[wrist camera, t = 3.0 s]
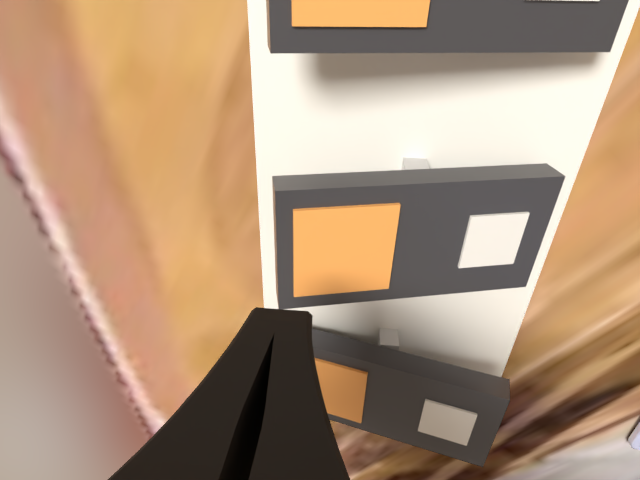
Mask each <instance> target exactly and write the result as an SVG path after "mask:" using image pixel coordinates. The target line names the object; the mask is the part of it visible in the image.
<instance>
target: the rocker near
mask: <svg viewBox="0 0 640 480" xmlns="http://www.w3.org/2000/svg"><path fill="white" fill-rule="evenodd" d="M628 1H629V0H266V13H267V42H268V48H269V51H270V53H271V54H278V53H543V52H610V51H611V48H612V46H613V43H614V40H615V37H616V35H617V32H618V29H619V26H620V23H621V21H622V18H623V15H624V12H625V10H626V7H627V4H628Z"/></svg>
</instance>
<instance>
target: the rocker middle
mask: <svg viewBox="0 0 640 480" xmlns="http://www.w3.org/2000/svg"><path fill="white" fill-rule="evenodd" d="M565 177H566V176H565V175H563V174H562V173H560V172H559V171H557V170H556V169H554V168H553V167H551V166H550V165H548V164H547V163H543V164H521V165H499V166H478V167H456V168H434V169H412V170H391V171H369V172H347V173H325V174H304V175H282V176H272V187H273V216H274V245H275V274H276V294H277V301H278V309H292V308H303V307H314V306H324V305H335V304H346V303H357V302H368V301H379V300H389V299H400V298H411V297H422V296H433V295H444V294H454V293H465V292H476V291H487V290H498V289H509V288H519V287H526V285H527V282H528V280H529V277H530V274H531V271H532V268H533V266H534V263H535V260H536V257H537V255H538V252H539V249H540V246H541V243H542V241H543V238H544V235H545V232H546V229H547V227H548V224H549V221H550V218H551V216H552V213H553V210H554V207H555V204H556V202H557V199H558V196H559V193H560V190H561V188H562V185H563V182H564V179H565Z"/></svg>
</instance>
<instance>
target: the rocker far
mask: <svg viewBox="0 0 640 480" xmlns="http://www.w3.org/2000/svg"><path fill="white" fill-rule="evenodd" d="M312 344H313V351H314V358H315V364H316V369H317V374H318V378H319V383H320V387H321V391H322V395H323V399H324V403H325V407H326V410H327V414H328V417H329V419H330V420H333V421H336V422H339V423H342V424H346V425H349V426H352V427H355V428H359V429H362V430H365V431H368V432H371V433H375V434H378V435H381V436H384V437H388V438H391V439H394V440H397V441H401V442H404V443H407V444H410V445H413V446H417V447H420V448H423V449H426V450H430V451H433V452H436V453H439V454H442V455H446V456H449V457H452V458H455V459H459V460H462V461H465V462H468V463H471V464H475V465H478V466H481V467H483V465H484V463H485V461H486V458H487V456H488V453H489V451H490V448H491V446H492V443H493V441H494V438H495V436H496V434H497V431H498V429H499V426H500V424H501V421H502V419H503V416H504V414H505V411H506V409H507V406H508V404H509V402H510V382H509V379H506V378H502V377H498V376H494V375H490V374H486V373H483V372H479V371H475V370H471V369H467V368H463V367H459V366H455V365H452V364H448V363H444V362H440V361H436V360H432V359H428V358H425V357H421V356H417V355H413V354H409V353H405V352H401V351H398V350H394V349H390V348H386V347H382V346H378V345H374V344H370V343H367V342H363V341H359V340H355V339H351V338H347V337H343V336H340V335H336V334H332V333H328V332H324V331H320V330H316V329H313V328H312Z"/></svg>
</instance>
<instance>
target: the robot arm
mask: <svg viewBox="0 0 640 480" xmlns="http://www.w3.org/2000/svg"><path fill="white" fill-rule="evenodd" d="M312 317H313V315H312V314H310V313H309V312H308V311H299V310H284V309H270V308H255V309H253V310H252V311H251V313H250V314H249V316H248V318H247V319H246V321H245V323H244V324H243V326H242V327H241V329H240V330H239V332H238V333H237V335H236V336H235V338H234V339H233V341H232V342H231V343H230V345H229V346H228V348H227V349H226V350H225V352H224V353H223V354H222V356H221V357H220V358H219V360H218V361H217V362H216V364H215V365H214V366H213V368H212V369H211V370H210V371H209V373H208V374H207V375H206V377H205V378H204V379H203V380H202V382H201V383H200V384H199V385H198V386H197V388H196V389H195V390H194V391H193V392H192V393H191V395H190V396H189V397H188V398H187V399H186V400H185V402H184V403H183V404H182V405H181V406H180V408H179V409H178V410H177V411H176V412H175V413H174V414H173V415H172V416H171V418H170V419H169V420H168V421H167V422H166V423H165V424H164V425H163V426H162V427H161V428H160V429H159V430H158V431H157V433H156V434H155V435H154V436H153V437H152V438H151V439H150V440H149V441H148V442H147V443H146V444H145V445H144V446H143V447H142V448H141V449H140V450H139V451H138V452H137V453H136V454H135V455H134V456H133V457H131V458H130V459H129V460H128V461H127V462H126V463H125V464H124V465H123V466H122V467H121V468H120V469H119V470H118V471H117V472H115V473H114V474H113V475H112V476H111V477H110V478H109V479H108V480H350V478H349V476H348V473H347V470H346V468H345V465H344V462H343V459H342V457H341V454H340V451H339V448H338V445H337V442H336V439H335V436H334V433H333V430H332V427H331V424H330V420H329V417H328V414H327V410H326V407H325V403H324V399H323V395H322V391H321V387H320V383H319V378H318V374H317V369H316V364H315V358H314V351H313V344H312ZM628 442H629V444H630V446H631V447H632V448H633V449H637V450H640V422H639V424H638V425H637V427H636V428H635V429H634V431H633V432H632V434H631V435H630V437H629V438H628Z"/></svg>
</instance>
